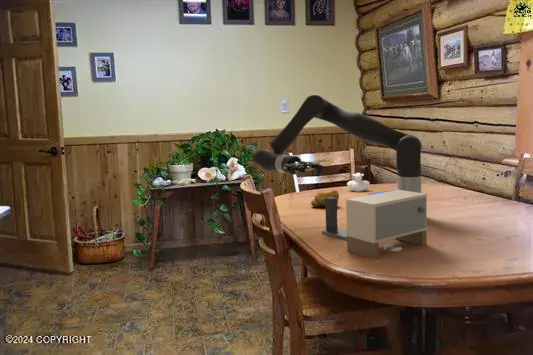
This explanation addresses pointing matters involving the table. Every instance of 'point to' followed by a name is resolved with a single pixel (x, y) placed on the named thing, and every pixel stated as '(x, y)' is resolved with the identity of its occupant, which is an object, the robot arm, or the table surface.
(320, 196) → the bread roll
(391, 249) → the steel token
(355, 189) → the white animal figurine
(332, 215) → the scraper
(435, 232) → the table surface
